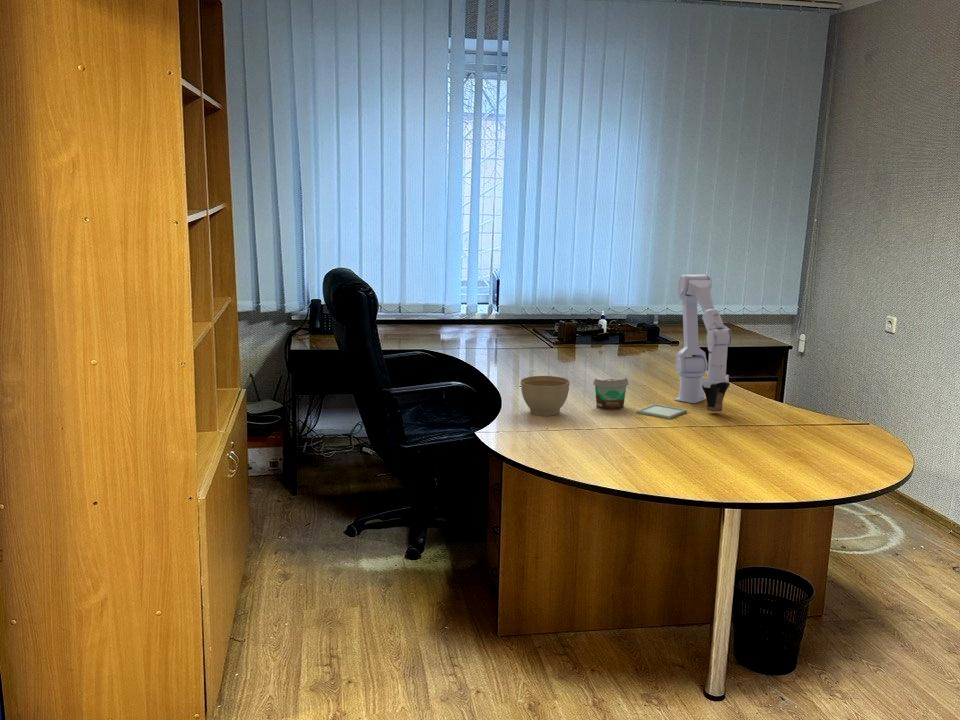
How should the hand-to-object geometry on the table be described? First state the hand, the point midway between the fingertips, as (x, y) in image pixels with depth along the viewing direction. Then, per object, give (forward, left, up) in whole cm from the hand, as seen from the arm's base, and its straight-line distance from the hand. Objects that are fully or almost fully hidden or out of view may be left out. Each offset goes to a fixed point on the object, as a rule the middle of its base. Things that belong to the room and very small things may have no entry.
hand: (714, 405), depth 291 cm
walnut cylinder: (0, 0, -2) cm, 2 cm away
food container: (+16, -29, -3) cm, 33 cm away
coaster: (+10, -14, -3) cm, 17 cm away
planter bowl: (+36, -43, -3) cm, 56 cm away
